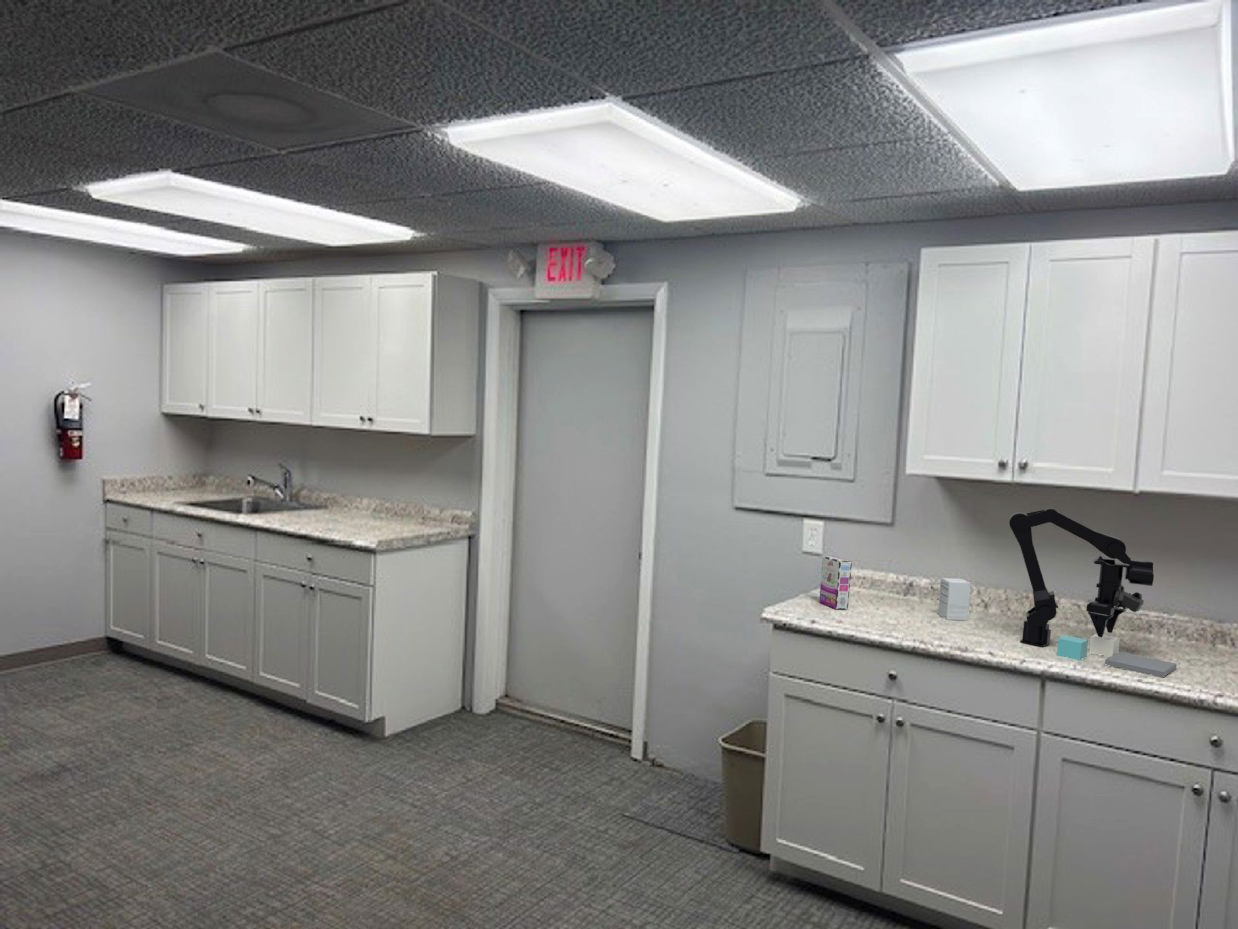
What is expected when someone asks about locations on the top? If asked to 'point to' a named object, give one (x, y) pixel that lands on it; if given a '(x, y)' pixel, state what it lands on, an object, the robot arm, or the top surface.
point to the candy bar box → (835, 582)
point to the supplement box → (954, 599)
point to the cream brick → (1104, 645)
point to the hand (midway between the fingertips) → (1105, 634)
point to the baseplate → (1141, 664)
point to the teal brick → (1072, 647)
